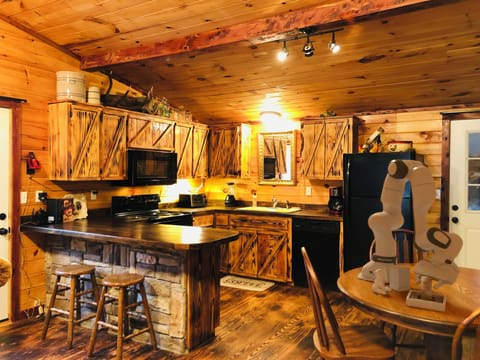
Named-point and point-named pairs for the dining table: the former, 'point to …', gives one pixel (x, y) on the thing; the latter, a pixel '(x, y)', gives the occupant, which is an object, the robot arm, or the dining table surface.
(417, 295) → the bore plate
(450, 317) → the dining table surface
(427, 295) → the birch peg
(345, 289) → the dining table surface
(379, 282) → the seated beast figurine
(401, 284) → the supplement box
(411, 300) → the open box
